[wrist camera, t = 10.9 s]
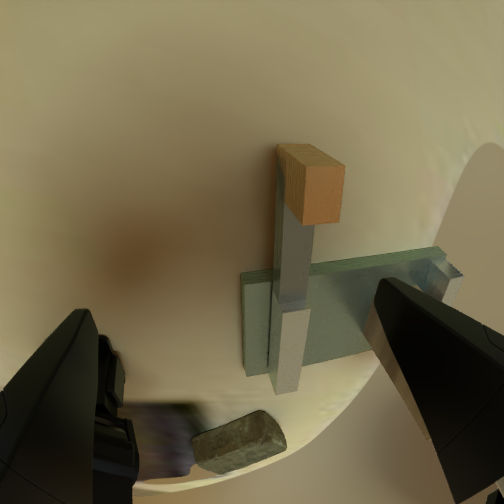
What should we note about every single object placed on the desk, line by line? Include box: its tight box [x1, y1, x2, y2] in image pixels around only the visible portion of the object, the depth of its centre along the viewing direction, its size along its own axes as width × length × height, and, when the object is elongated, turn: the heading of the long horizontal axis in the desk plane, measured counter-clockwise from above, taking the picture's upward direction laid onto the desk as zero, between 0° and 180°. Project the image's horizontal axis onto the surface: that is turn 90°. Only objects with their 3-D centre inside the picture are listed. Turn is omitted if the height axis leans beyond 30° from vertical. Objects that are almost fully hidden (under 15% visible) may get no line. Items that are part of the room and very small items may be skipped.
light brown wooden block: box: [268, 144, 345, 395], centre depth 22 cm, size 2×20×5 cm, turn 179°
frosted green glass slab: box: [241, 246, 464, 377], centre depth 27 cm, size 20×11×4 cm, turn 89°
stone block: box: [192, 411, 287, 474], centre depth 35 cm, size 6×12×5 cm, turn 120°
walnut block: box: [363, 285, 431, 442], centre depth 23 cm, size 5×5×13 cm
